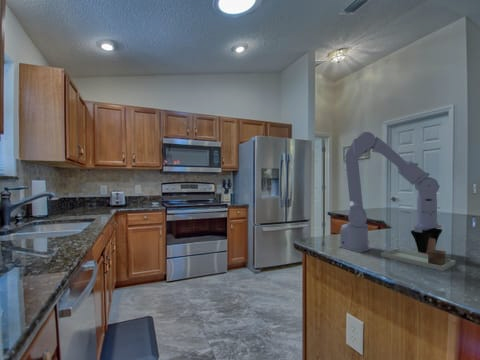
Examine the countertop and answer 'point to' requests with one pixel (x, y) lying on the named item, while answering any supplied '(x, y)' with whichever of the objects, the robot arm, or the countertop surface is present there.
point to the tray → (415, 258)
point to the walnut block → (436, 257)
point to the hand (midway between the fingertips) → (426, 250)
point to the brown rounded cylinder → (430, 245)
